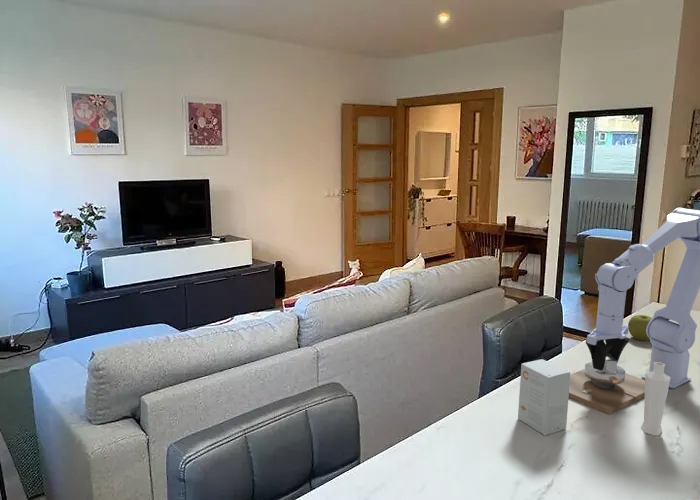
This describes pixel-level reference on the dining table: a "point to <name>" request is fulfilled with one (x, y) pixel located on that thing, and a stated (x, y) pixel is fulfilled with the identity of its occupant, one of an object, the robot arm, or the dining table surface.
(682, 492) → the dining table surface
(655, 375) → the perfume bottle
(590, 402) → the post board
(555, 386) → the small box
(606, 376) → the cap
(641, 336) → the apple
